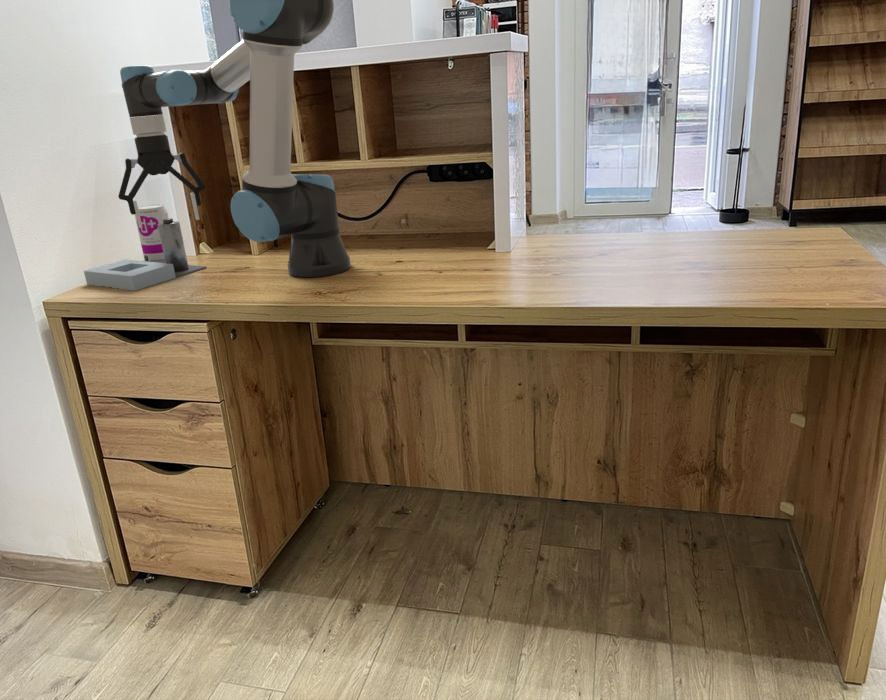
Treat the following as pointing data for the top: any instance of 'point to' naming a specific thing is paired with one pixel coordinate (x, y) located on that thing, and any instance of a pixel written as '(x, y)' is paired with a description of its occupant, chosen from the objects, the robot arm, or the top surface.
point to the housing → (130, 274)
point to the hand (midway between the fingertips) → (169, 223)
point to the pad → (189, 270)
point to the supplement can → (151, 232)
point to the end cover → (173, 244)
